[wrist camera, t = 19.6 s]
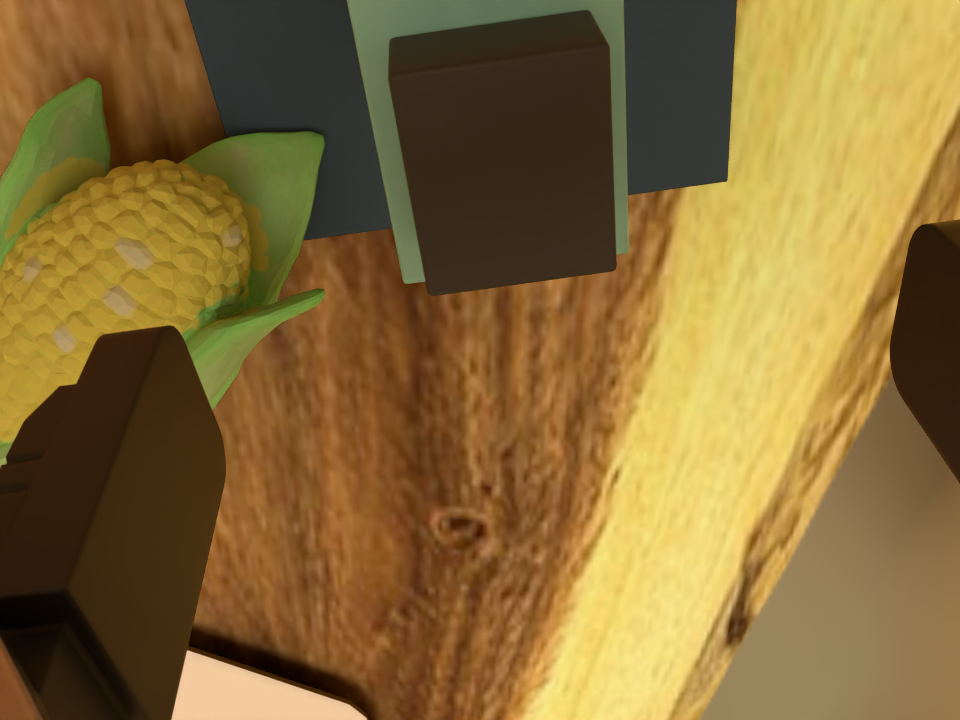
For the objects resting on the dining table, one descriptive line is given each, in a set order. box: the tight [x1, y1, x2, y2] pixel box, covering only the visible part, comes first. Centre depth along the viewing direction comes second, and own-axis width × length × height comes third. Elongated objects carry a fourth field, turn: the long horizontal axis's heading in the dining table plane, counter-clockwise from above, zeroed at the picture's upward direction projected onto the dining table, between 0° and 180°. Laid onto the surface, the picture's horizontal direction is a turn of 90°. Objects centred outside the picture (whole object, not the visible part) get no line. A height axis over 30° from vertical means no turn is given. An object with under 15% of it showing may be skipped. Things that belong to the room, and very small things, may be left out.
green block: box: [347, 0, 629, 296], centre depth 18 cm, size 12×4×5 cm
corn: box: [0, 77, 325, 467], centre depth 25 cm, size 8×8×20 cm
